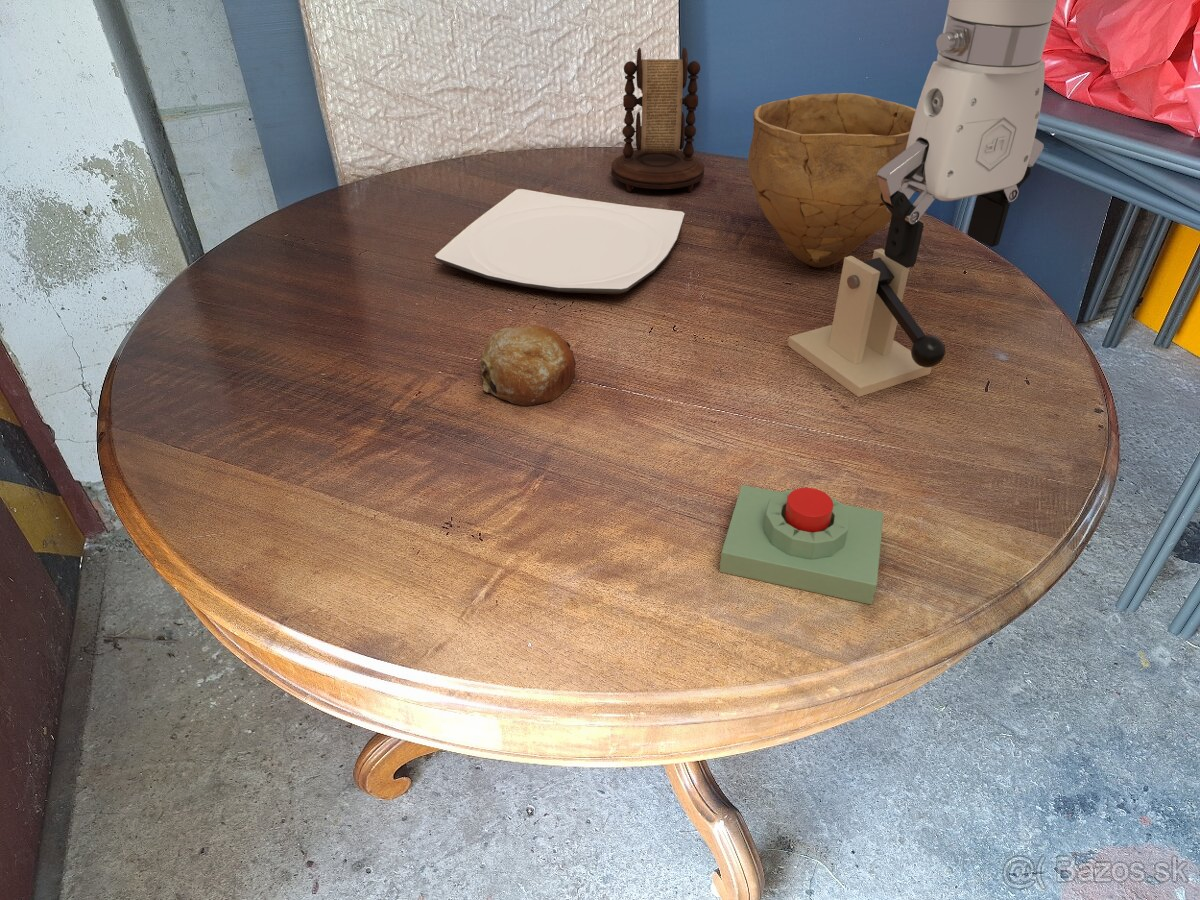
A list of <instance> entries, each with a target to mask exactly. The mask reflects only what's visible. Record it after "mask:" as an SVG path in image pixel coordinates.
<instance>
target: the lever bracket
mask: <svg viewBox="0 0 1200 900" xmlns="http://www.w3.org/2000/svg"><path fill="white" fill-rule="evenodd" d="M884 252H885V249H884V248H882V247H881V248H877V249H874V250H873V255H872V259H875V258H879V257H880V258H881V259H882V260H883V262H884V263H885V265H886V266H887V267H888V269H889V270H890V271H891V273H892V274H893V275H894V278H893V280H892V281H891V283H890V284H889V286H890V287H891V288H892V290H893V291H894V292H895V294H896V295H897V297H898V298H899V299H900V301H901V302H902V303H903V300H904V296H905V291H906V286H907V281H908V277H909V273H910V268H911V267H909V268H906V267H904V266H902V265H900V264H899V263H897V262H895V261H893V260H891V259H889V258H888V257H886V256H885V253H884ZM879 276H880V271H878V270H876V269H874V268H872V267H871V266H869V265H867V264H865V263H864V261H862V260H860V259H859V258H856V257H855V256H853V255H847V256H846V257H844V258H843V265H842V269H841V274H840V280H839V285H838V292H837V298H836V302H835V309H834V313H833V320H832V324H829V325H825V326H822V327H818V328H815V329H811V330H807V331H804V332H801V333H796V334H793V335H790V336H788V342H787V347H789V348H790V349H792V350H793V351H794V352H795V353H797V354H798V355H799V356H800V357H802V358H804V359H805V360H806V361H808V362H810V363H811V364H812V365H814V366H815V367H816V368H817V369H819V370H820V371H822V372H823V373H824V374H826V375H827V376H829V377H830V378H831V379H832V380H834V381H835V382H836V383H838V384H839V385H841V386H842V387H844V388H845V389H846V390H848V391H849V392H850V393H852V394H853V395H855V396H856V397H857V398H860V397H863V396H866V395H869V394H872V393H876V392H879V391H882V390H884V389H888V388H891V387H894V386H897V385H900V384H904V383H906V382H910V381H913V380H916V379H919V378H922V377H925V376H928V375H931V372H932V369H933V367H922V366H919V365H918V364H916V363H915V362H914V360H913V358H912V356H911V349H909V348H907V347H905V346H904V345H902V344H901V343H899V342H898V341H896V340H894V339H895V334H896V330H897V326H898V322H897V320H896V319H895V318H894V316H893V315H892V313H891V312H890V311H889V309H888V308H887V306H886V305H885V304H884V302H883V301H882V299H881V298H880V297H879V295H878V294H876V291H877V286H878V281H879Z"/></svg>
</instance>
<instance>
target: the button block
mask: <svg viewBox="0 0 1200 900" xmlns="http://www.w3.org/2000/svg"><path fill="white" fill-rule="evenodd" d="M796 489H797V488H794V489H788V490H783V491H778V490H777V491H776V490H772V489H766V488H761V487H756V486H750V485H745V484H741V486H740V489H739V492H738V495H737V497H736V498H737V499H736V501H735V505H734V509H733V511H732V515H731V518H730V521H729V524H728V529H727V532H726V536H725V539H724V541H723V545H722V549H721V552H720V561H719V570H718V571H719V572H720V573H723V574H727V575H733V576H737V577H741V578H746V579H750V580H755V581H759V582H765V583H769V584H773V585H778V586H783V587H788V588H793V589H797V590H800V591H801V590H802V591H807V592H811V593H814V594H815V593H816V594H820V595H825V596H829V597H834V598H838V599H842V600H848V601H852V602H856V603H861V604H867V605H870V606H871V605H872V604H873V602H874V598H875V595H876V591H877V587H878V579H879V570H880V569H879V568H880V567H879V566H880V556H881V544H882V535H883V523H884V514H885V513H884V511H881V510H877V509H876V510H875V509H870V508H866V507H860V506H855V505H850V504H845V503H842V502H840V501H839V500H837V499H836V498H834V497H832V496H830V495H828V496H829V497H830V498H831V499H832V501H833V510H832V515H831V520H830V524H829V526H828V527H827V528H826V529H825V530H823V531H820V532H813V533H811V532H806V531H801V530H797V529H796V528H794V527H792V526H791V525H789V524H788V523H787V521H786V519H785V509H786V503H787V498H788V495H789V494H790V493H791V492H792V491H794V490H796Z"/></svg>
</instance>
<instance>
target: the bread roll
mask: <svg viewBox="0 0 1200 900" xmlns="http://www.w3.org/2000/svg"><path fill="white" fill-rule="evenodd" d="M573 353H574V351H573V350H572V349H571V344H570V343H569V342H568V341H567V340H565V339H564V338H563V337H562V336H561V335H560V334H559V333H557V331H554V330H553V329H551V328H549V327H547V326H539V325H529V326H519V327H504V328H501V329H499V330H498V331H496V332H494V333H493V334H492V335H491V336H490V337H489V338H488V339H487V342H486V344H485V346H484V348H483V349H482V352H481V354H480V362H479V363H480V364H479V365H480V366H479V367H480V376H481V377H480V379H481V380H483V381H482V390H483V391H484V392H486V393H489V394H491V395H493V396H495V397H497V399H501V400H503V401H507V402H509V403H511V404H514V405H517V406H521V407H523V406H524V407H525V406H526V407H527V406H535V405H541V404H545V403H548V402H552V401H554V400H556V399H557V398H558V397H559V396H560V395H562V394H564V393H565V391H566V390H568V388H570V386H571V385H572V383H573V380H574V378H575V376H576V365H577V363H576V359H575V356H574V354H573Z"/></svg>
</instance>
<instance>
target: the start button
mask: <svg viewBox="0 0 1200 900" xmlns="http://www.w3.org/2000/svg"><path fill="white" fill-rule="evenodd" d="M795 489H796V490H794V489H793V490H794V491H792V492H791V493H790V494H789V495H788V498H787V503H786V509H785V519H786V521H787V523H788V524H789V525H791V526H792V527H794V528H796V529H797V530H801V531H806V532H811V533H813V532H820V531H823V530H825V529H826V528H827V527H828V526H829V524H830V520H831V515H832V510H833V501H832V499H831V498H830V497H831V496H830V495H828V493H826V492H825V491H823V490H820V489H817V488H813V487H799V488H795ZM829 496H830V497H829Z"/></svg>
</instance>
